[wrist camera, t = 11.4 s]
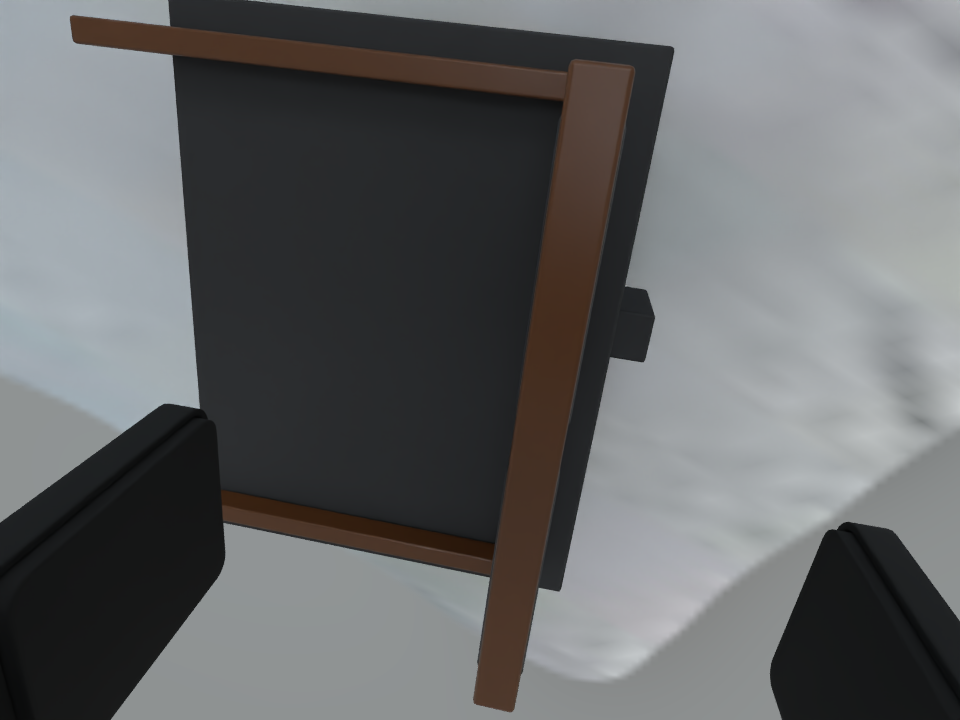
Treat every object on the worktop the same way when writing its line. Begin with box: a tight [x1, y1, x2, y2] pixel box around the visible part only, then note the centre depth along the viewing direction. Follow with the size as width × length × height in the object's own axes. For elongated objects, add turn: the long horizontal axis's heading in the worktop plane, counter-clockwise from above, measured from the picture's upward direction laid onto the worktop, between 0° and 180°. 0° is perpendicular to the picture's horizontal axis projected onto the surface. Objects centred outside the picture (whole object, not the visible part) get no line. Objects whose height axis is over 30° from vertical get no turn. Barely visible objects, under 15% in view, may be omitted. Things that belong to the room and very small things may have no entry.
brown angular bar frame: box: [70, 15, 635, 712], centre depth 15 cm, size 13×14×5 cm
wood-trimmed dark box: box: [168, 0, 674, 591], centre depth 23 cm, size 14×16×12 cm
